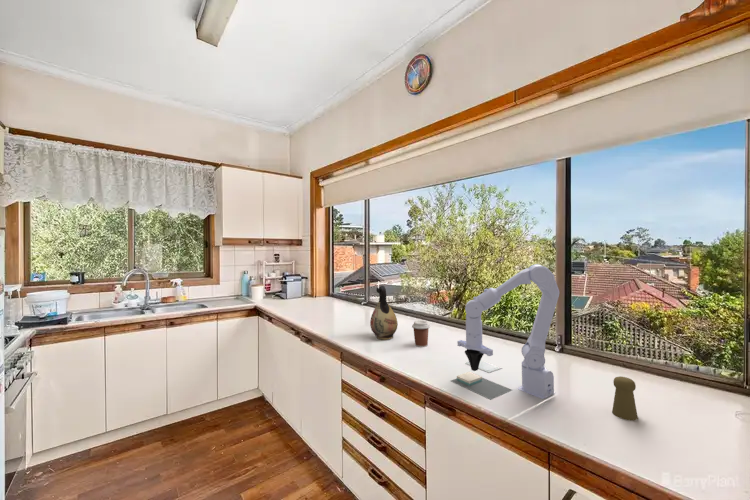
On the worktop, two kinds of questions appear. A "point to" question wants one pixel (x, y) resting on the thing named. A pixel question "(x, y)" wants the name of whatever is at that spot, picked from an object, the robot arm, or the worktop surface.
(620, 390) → the olive green pepper mill
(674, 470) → the worktop surface
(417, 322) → the coffee cup
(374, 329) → the ceramic jug
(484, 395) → the mat
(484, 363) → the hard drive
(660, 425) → the worktop surface
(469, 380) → the tile
